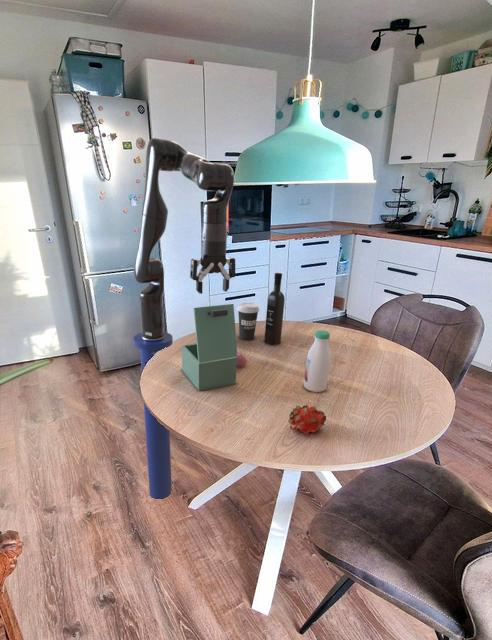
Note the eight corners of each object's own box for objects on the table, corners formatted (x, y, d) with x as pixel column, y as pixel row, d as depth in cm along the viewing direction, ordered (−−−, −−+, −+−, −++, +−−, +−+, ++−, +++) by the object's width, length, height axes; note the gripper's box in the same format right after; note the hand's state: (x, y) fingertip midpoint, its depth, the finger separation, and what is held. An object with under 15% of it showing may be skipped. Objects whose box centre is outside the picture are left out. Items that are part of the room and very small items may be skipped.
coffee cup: (233, 339, 170) (234, 306, 164) (239, 332, 179) (240, 301, 172) (254, 342, 168) (256, 309, 162) (259, 335, 176) (261, 303, 170)
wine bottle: (272, 345, 165) (279, 275, 153) (263, 341, 169) (268, 273, 157) (281, 342, 169) (288, 273, 157) (271, 338, 173) (277, 271, 160)
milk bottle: (330, 387, 133) (339, 332, 124) (319, 395, 127) (327, 338, 119) (310, 379, 137) (317, 326, 129) (299, 387, 132) (305, 332, 124)
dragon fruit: (282, 436, 108) (319, 435, 112) (298, 435, 100) (336, 434, 104) (280, 406, 110) (316, 406, 114) (295, 403, 102) (333, 403, 106)
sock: (229, 360, 150) (230, 351, 148) (238, 359, 151) (239, 349, 150) (238, 369, 143) (239, 359, 142) (248, 367, 145) (249, 357, 143)
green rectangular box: (182, 370, 141) (181, 345, 137) (216, 364, 146) (216, 340, 142) (198, 390, 127) (198, 363, 123) (235, 383, 133) (236, 357, 129)
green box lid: (193, 307, 120) (199, 308, 116) (232, 303, 126) (239, 304, 121) (198, 362, 124) (204, 364, 119) (236, 356, 129) (243, 358, 124)
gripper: (230, 236, 121) (228, 287, 127) (187, 237, 115) (187, 290, 122) (241, 239, 114) (238, 293, 121) (196, 241, 109) (195, 297, 116)
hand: (212, 292), depth 122 cm, fingers open, 8 cm apart
